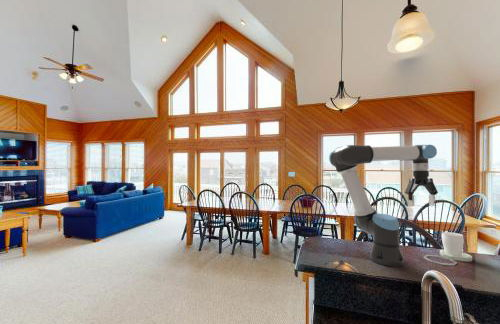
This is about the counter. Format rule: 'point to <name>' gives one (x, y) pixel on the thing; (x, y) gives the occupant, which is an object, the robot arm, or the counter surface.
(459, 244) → the cup
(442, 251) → the pale green flat disc
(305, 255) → the counter surface
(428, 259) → the seat ring
